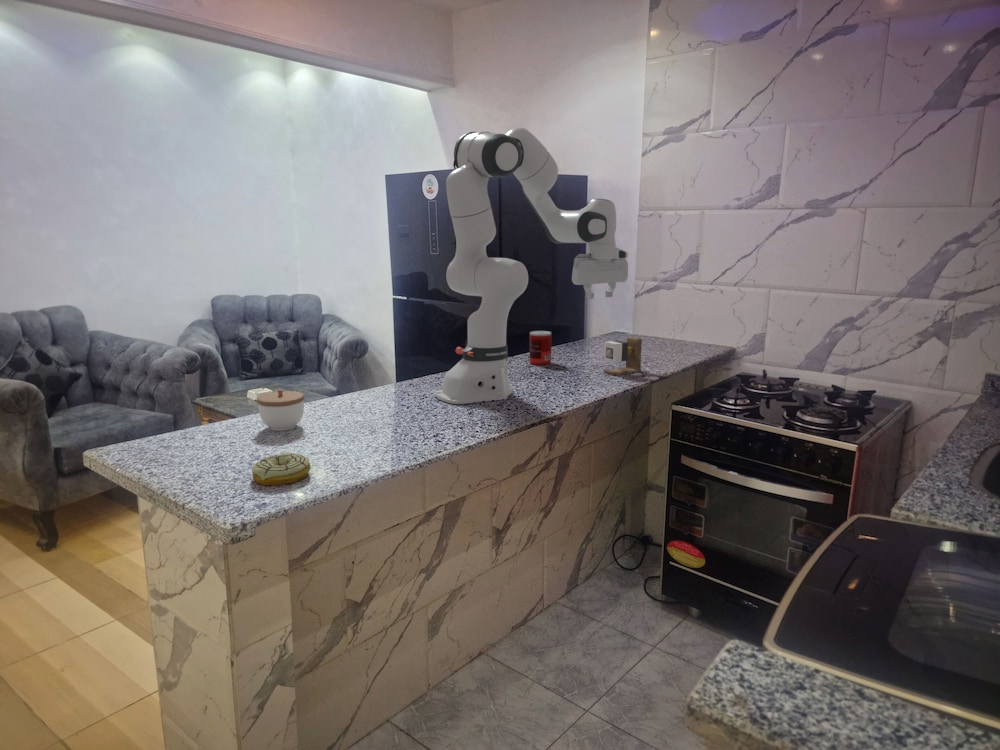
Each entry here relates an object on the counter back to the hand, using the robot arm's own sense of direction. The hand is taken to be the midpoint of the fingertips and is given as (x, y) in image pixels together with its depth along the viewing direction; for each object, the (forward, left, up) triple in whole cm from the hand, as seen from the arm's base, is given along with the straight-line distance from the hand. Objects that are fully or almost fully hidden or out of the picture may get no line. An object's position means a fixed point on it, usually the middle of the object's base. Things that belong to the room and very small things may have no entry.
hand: (599, 297), depth 208 cm
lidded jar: (-100, 0, -26) cm, 103 cm away
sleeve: (+7, 0, -21) cm, 22 cm away
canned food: (-3, +27, -26) cm, 37 cm away
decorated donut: (-109, -33, -26) cm, 117 cm away
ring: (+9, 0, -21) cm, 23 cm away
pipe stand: (+11, 0, -25) cm, 28 cm away
